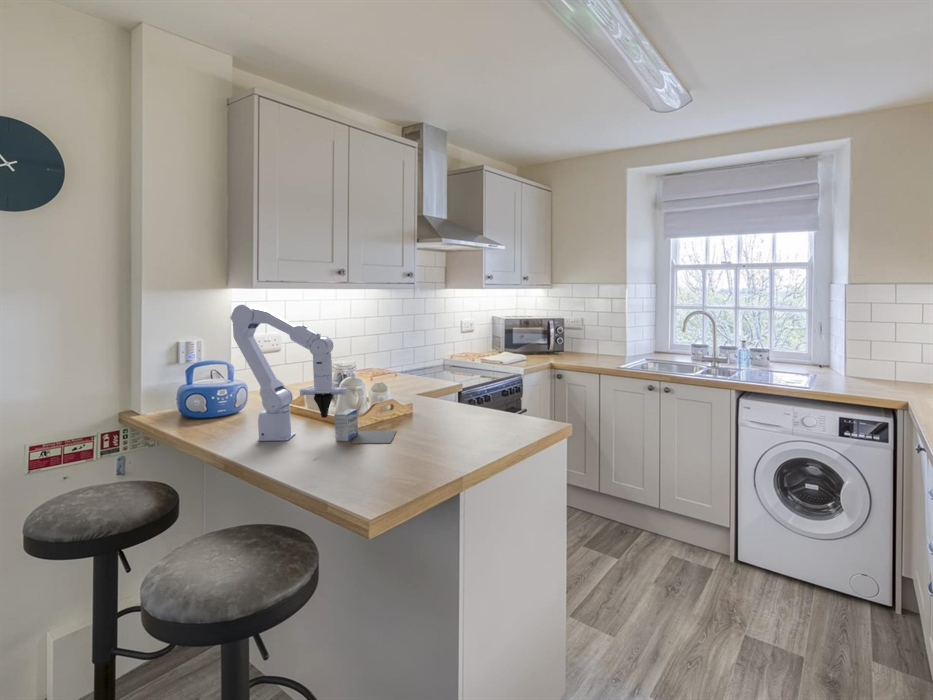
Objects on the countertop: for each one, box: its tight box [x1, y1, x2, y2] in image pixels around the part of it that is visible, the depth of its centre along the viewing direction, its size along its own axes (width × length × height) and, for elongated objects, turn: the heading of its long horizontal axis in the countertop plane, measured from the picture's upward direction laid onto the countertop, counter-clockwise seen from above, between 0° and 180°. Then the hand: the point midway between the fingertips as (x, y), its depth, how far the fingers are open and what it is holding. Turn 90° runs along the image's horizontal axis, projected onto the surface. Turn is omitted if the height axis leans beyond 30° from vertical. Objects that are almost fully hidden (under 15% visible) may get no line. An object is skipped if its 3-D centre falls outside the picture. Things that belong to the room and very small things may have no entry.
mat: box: [351, 430, 397, 445], centre depth 165 cm, size 12×14×1 cm
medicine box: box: [334, 408, 359, 442], centre depth 165 cm, size 8×4×9 cm, turn 168°
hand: (324, 417), depth 164 cm, fingers closed
